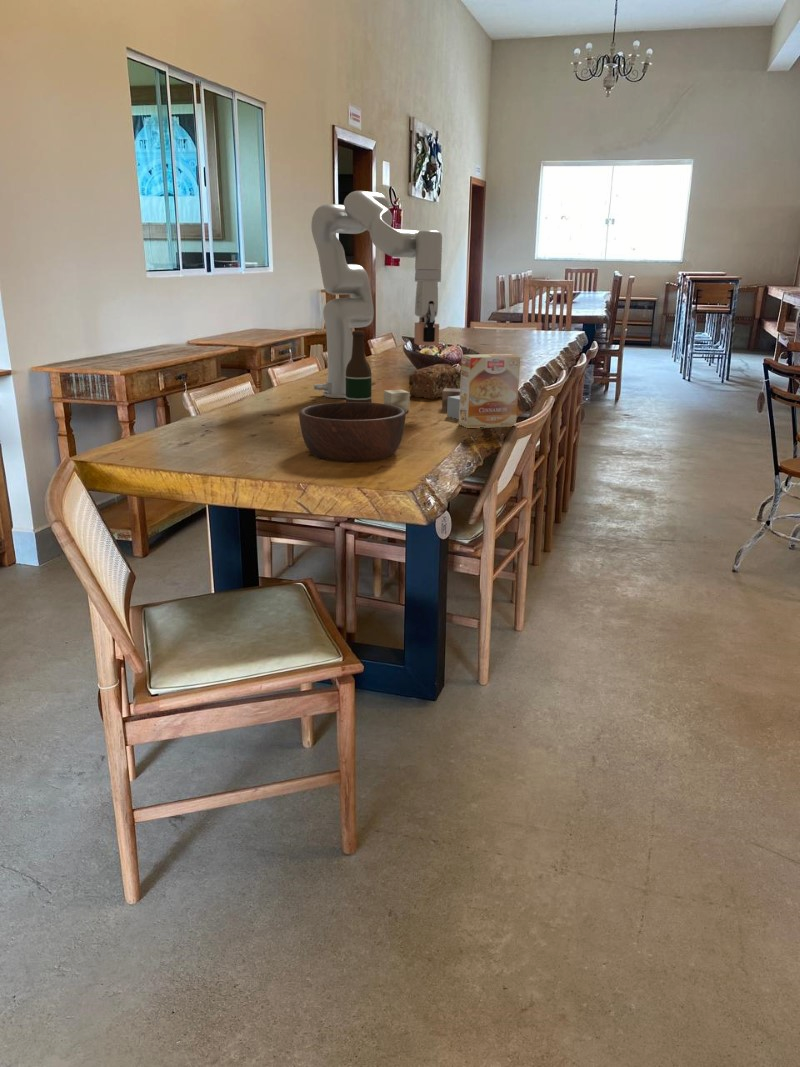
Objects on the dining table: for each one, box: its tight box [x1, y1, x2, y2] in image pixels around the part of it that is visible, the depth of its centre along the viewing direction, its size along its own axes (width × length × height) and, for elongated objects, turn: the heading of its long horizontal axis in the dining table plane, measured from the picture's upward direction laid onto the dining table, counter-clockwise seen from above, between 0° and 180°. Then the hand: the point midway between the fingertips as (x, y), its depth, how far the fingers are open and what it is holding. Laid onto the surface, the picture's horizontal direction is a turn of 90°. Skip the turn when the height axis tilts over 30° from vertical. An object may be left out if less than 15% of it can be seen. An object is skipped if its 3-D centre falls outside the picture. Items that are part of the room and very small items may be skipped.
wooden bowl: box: [298, 401, 407, 463], centre depth 187 cm, size 25×25×10 cm
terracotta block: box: [413, 321, 440, 346], centre depth 233 cm, size 6×6×6 cm
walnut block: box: [441, 388, 460, 411], centre depth 246 cm, size 6×6×6 cm
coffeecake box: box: [458, 353, 521, 429], centre depth 219 cm, size 15×7×20 cm, turn 108°
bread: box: [408, 363, 461, 400], centre depth 272 cm, size 19×11×10 cm, turn 145°
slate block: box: [446, 396, 460, 420], centre depth 233 cm, size 6×6×6 cm
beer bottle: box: [345, 330, 372, 403], centre depth 235 cm, size 8×8×24 cm
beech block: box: [383, 389, 411, 413], centre depth 242 cm, size 6×6×6 cm
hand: (426, 340), depth 233 cm, fingers closed on terracotta block, 6 cm apart
